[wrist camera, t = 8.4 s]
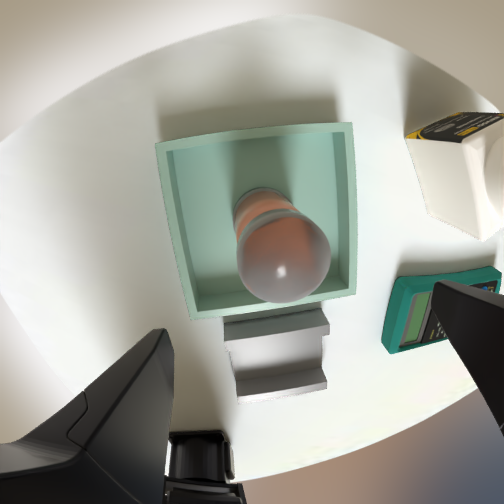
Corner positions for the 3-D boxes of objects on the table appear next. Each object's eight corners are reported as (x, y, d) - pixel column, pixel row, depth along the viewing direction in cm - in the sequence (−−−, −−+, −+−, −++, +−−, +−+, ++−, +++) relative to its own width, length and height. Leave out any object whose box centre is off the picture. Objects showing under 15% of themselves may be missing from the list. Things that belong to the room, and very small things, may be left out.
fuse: (236, 249, 21) (243, 309, 14) (228, 191, 20) (230, 222, 12) (295, 241, 21) (331, 295, 14) (290, 183, 20) (329, 209, 12)
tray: (193, 302, 23) (190, 319, 20) (163, 143, 18) (154, 143, 16) (344, 279, 23) (356, 294, 21) (338, 123, 19) (352, 122, 17)
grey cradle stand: (237, 385, 26) (238, 403, 24) (223, 323, 24) (224, 341, 21) (320, 371, 27) (326, 388, 24) (321, 308, 24) (329, 324, 22)
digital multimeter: (475, 319, 28) (489, 331, 25) (376, 341, 27) (389, 360, 24) (492, 263, 25) (508, 273, 23) (390, 274, 24) (407, 289, 21)
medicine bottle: (458, 111, 19) (569, 118, 8) (477, 184, 21) (577, 222, 10) (402, 136, 20) (527, 151, 8) (426, 216, 22) (533, 274, 11)
